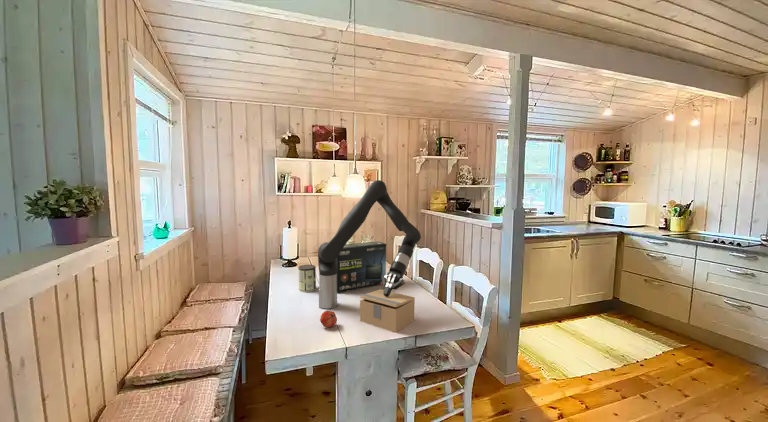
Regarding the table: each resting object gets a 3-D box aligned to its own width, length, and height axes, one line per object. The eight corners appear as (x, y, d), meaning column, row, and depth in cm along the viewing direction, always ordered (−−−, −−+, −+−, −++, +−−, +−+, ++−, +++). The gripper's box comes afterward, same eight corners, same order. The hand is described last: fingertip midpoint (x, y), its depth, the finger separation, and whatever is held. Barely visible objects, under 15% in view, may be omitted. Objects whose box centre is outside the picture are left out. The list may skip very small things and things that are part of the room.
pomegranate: (317, 331, 147) (325, 324, 140) (315, 315, 151) (323, 308, 144) (333, 329, 151) (341, 323, 144) (330, 314, 154) (338, 306, 148)
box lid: (380, 291, 165) (380, 288, 165) (414, 299, 154) (414, 297, 154) (360, 297, 152) (360, 295, 152) (396, 307, 141) (396, 304, 140)
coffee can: (307, 285, 205) (307, 263, 204) (319, 288, 200) (319, 266, 199) (295, 290, 197) (294, 267, 196) (307, 293, 191) (306, 269, 190)
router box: (336, 294, 190) (336, 248, 188) (328, 288, 200) (328, 245, 197) (387, 284, 210) (387, 242, 208) (378, 279, 219) (378, 240, 217)
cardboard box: (380, 310, 166) (380, 291, 165) (414, 320, 154) (414, 299, 154) (359, 321, 153) (359, 300, 152) (395, 332, 141) (395, 310, 140)
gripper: (385, 258, 162) (370, 288, 153) (408, 262, 154) (394, 294, 145) (391, 266, 167) (377, 296, 158) (414, 270, 159) (400, 302, 150)
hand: (385, 295), depth 151 cm, fingers closed
